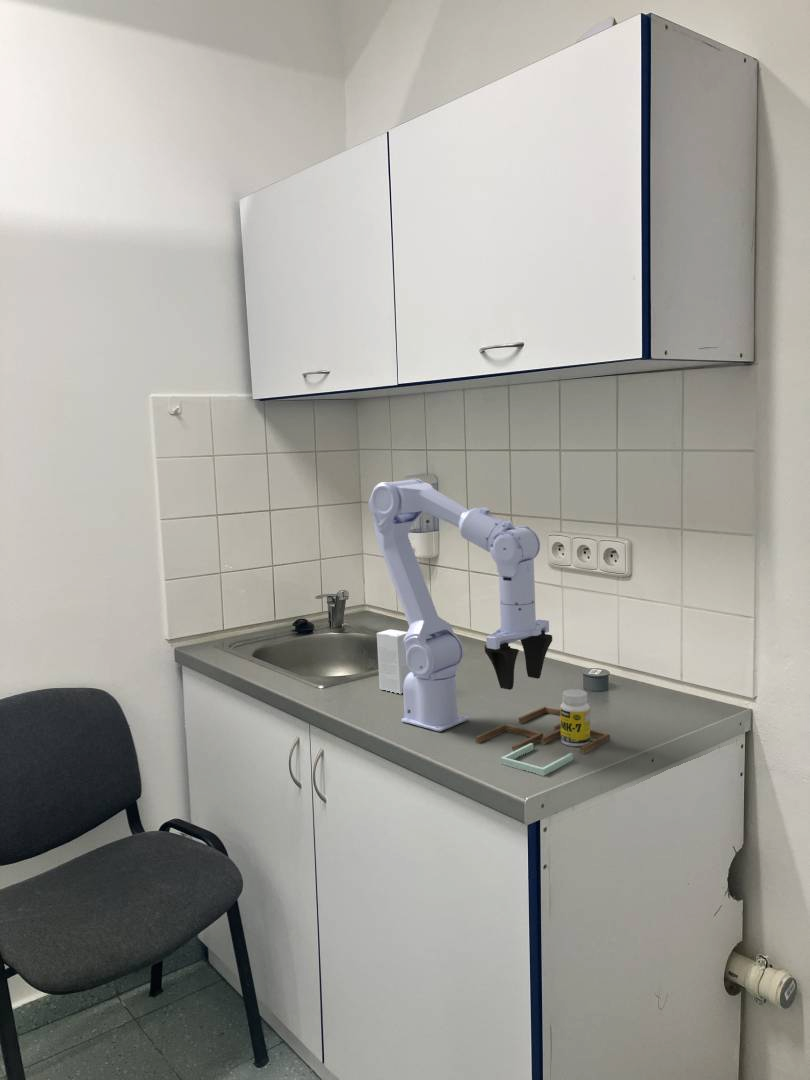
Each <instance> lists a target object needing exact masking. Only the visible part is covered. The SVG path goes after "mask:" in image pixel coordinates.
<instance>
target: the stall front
mask: <svg viewBox="0 0 810 1080" xmlns="http://www.w3.org/2000/svg"><path fill="white" fill-rule="evenodd" d="M557 738H561V729H558V730H556V731H555V730H554V731H553V732H550V733H548V734H547V735H543V737H542V738H541V740H540V742H541V745H545V744H548V743H549V742H551V741H554V740H556V739H557ZM590 738H594V740H592V741H590V742H589V743H588V744H586V745H585V746H580V754H581V755H585V754H587V753H588V752H590V751H592V750H594V749H596V748H598V747H600V746H601V745H603V744H605V743H607V742H609V741H610V739H611V736H610V733H608V732H607V733H606V732H603V731H598V730H594V729H590Z"/></svg>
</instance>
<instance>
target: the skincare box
mask: <svg viewBox="0 0 810 1080" xmlns="http://www.w3.org/2000/svg"><path fill="white" fill-rule="evenodd" d="M406 633H407V631H404V630H403V631H402V630H397V629H386V630H383V631H379V632H376V644H377V645H376V646H377V663H378V682H379V683H378V684H379V690H380V689H382V690H386V691H385V692H387V691H390V692H389V693H392V692H394V693H393V694H397V693H399V694H398V695H403V694H402V693H403V685H404V681H405V678H406V676H407V675H408V674H409V673H410V672H411V670H410V669H409V667H408V665H407V661H406V649H405V645H404V642H403V640H404V637H405V635H406ZM382 690H381V691H382Z"/></svg>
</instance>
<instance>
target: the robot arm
mask: <svg viewBox="0 0 810 1080" xmlns="http://www.w3.org/2000/svg"><path fill="white" fill-rule="evenodd" d="M367 503H368V507H369V510H370V512H371V515H372V518H373V520H374V530H375V532H374V534H375V537H376V540H377V543H378V547H379V548H380V551H381V554H382V557H383V560H384V563H385V565H386V567H387V568H386V569H387V571H388V574H389V575H390V578H391V581H392V583H393V586H394V587H393V588H394V589H395V591H396V594H397V597H398V600H399V603H400V605H401V608H402V611H403V613H404V616H405V618H406V622H407V624H408V630H407V631H406V632H407V633H406V635H405V637H404V640H403V642H404V645H405V649H406V661H407V665H408V667H409V669H410V670H411V672H410V673H409V674H408V675H407V676H406V678H405V681H404V685H403V694H402V695H403V715H404V717H402V718H401V719H400V720H401V722H402V723H405V724H410V725H414V726H417V727H421V728H423V729H424V728H425V729H429V730H432V731H436V732H442V731H445V730H448V729H450V728H452V727H454V726H457V725H460V724H462V723H463V722H467V721H468V720H469V717H468V716H466V715H461V714H459V713H458V712H459V711H458V691H457V690H458V689H457V688H458V686H457V672H458V671H459V668H458V666H459V664H461V662H462V660H463V658H464V654H465V653H464V651H465V649H464V646H463V643H462V640H461V639H460V638H459V637H458V636H457V634H456V633H455V631H454V630H453V628H452V627H453V626H452V624H451V623H449V622H448V621H447V620H445V619H444V618H442V617H440V616H439V614H438V612H437V610H436V606H435V605H434V602H433V599H432V596H431V594H430V591H429V589H428V586H427V582H426V581H425V578H424V575H423V572H422V570H421V567H420V564H419V561H418V559H417V557H416V554H415V551H414V548H413V546H412V544H411V541H410V538H409V534H410V531H411V528H412V527H413V526H414V524H416V522H417V521H418V519H419V518H420V517H421V516H422V514H423V513H424V512H425V513H427V514H429V515H431V516H434V517H435V518H437V519H439V520H442V521H444V522H446V523H448V524H450V525H452V526H454V527H457V528H459V533H460V535H461V537H462V538H463V539H465V540H466V541H468V542H469V543H472V544H474V545H476V546H477V547H479V548H481V549H483V550H485V551H486V552H488V553H489V554H490V556H491V558H492V559H493V561H494V562H495V564H496V570H497V571H496V572H497V573H498V584H499V587H498V588H499V589H498V590H499V613H500V628H498V629H497V630H495V631H494V632H493V633H491V634H489V635H487V636H485V637H486V639H485V640H486V641H485V643H486V644H485V645H484V652H485V654H486V655H487V657H488V659H489V660H490V662H491V664H492V666H493V668H494V671H495V674H496V677H497V680H498V684H499V688H500V689H502V690H503V689H504V690H508V691H509V690H513V688H514V683H515V681H514V680H515V666H516V661H517V657H518V654H519V651H520V650H519V649H518V648H513V647H512V648H511V645H510V646H509V644H511V643H515V642H518V641H520V642H521V646H522V649H523V654H524V659H525V669H526V674H527V677H528V678H532V679H536V680H538V679H540V678H541V676H542V672H543V670H542V669H543V666H544V662H545V659H546V655H547V652H548V650H549V647H550V646H551V644H552V642H553V635H552V634H547V633H549V632H550V621H549V620H544V619H537V620H536V618H537V617H536V612H537V611H536V589H535V588H536V587H535V562H534V561H535V558H536V557H537V556H538V555H539V553H540V549H541V541H540V538H539V537H538V535H537V533H536V532H535V531H534V530H533V529H531V528H530V527H529V525H520V526H517V527H515V526H514V525H513V522H512V521H511V520H509V519H508V520H503V519H501V518H499V517H497V516H495V515H494V514H492V513H491V509H489V508H487V506H486V507H485V506H484V507H474V508H472V509H470V510H469V509H468V508H466V507H464V506H463V505H461V504H459V503H458V502H456V501H454V500H453V499H451V498H449V497H448V496H446V495H444V494H443V493H441V492H440V491H438V490H436V489H435V488H433V485H432V484H431V483H429V482H424V481H423V480H421V479H419V478H410V479H406V480H399V481H390V482H388V481H383V482H382V481H381V482H379V483H377V485H375V486H374V487H373V489H372V491H371V495H370V497H369V500H368V502H367ZM428 637H429V638H428Z"/></svg>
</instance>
